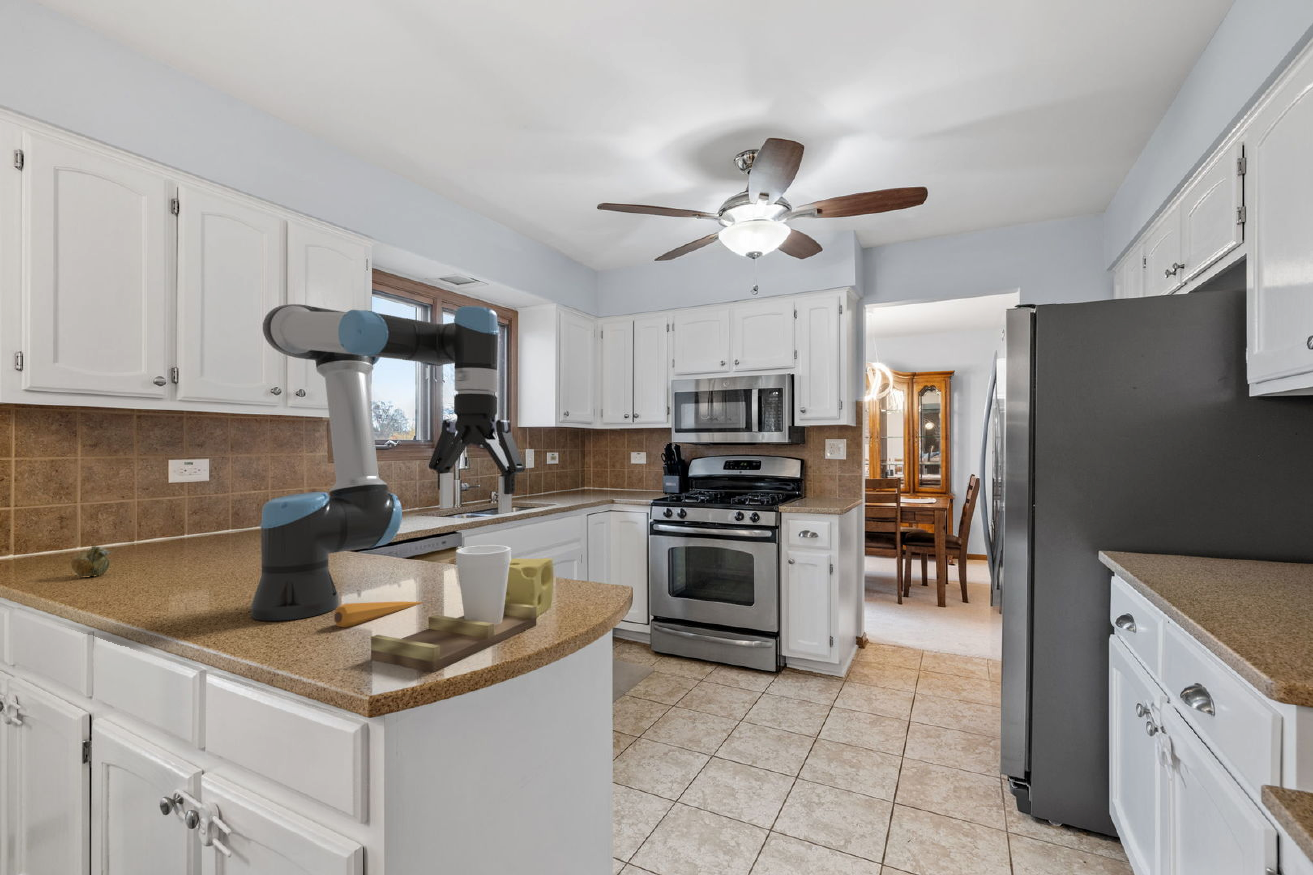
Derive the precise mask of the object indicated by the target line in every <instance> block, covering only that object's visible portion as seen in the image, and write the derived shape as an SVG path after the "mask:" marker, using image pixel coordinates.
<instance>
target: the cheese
mask: <svg viewBox="0 0 1313 875" xmlns="http://www.w3.org/2000/svg"><path fill="white" fill-rule="evenodd" d="M554 578H555V576H554V563H553V558H550V557H549V558H513V557H511V562H510V565H509V573H508V581H507V589H506V597H505V602H509V603H516V604H524V605H532V606H536V619H538V617H539V616H540V615H542V614H543V613H544V612H545V611H547V610H549V609H551V607H552V601H553V593H554V582H555V581H554V580H555V579H554Z"/></svg>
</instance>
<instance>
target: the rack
mask: <svg viewBox="0 0 1313 875" xmlns="http://www.w3.org/2000/svg"><path fill="white" fill-rule="evenodd" d="M535 625H536V626H537V618H536V606H532V605H524V604H516V603H509V602H505V605H504V613H503V618H502V622H501V623H500V624H498V625H495V626H494V623H487V622H480V621H474V620H467V619H465V617H464V615H461V616H459V617H453V616H452V617H451V616H445V615H441V614H439V615H438V614H432V615H430V616H428V628H426V629H424V630H421V631H418V632H415V633H413V634H409V635H407V636H405V637H403V638H398V637H393V636H388V635H381V634H375V635H372V636H370V660H371V661H378V662H381V663H382V662H383V663H386V664H387V663H388V664H391V665H396V666H401V667H407V668H413V669H415V670H416V669H417V670H421V671H427V672H430V673H431V672H432V673H436V672H437V671H438V672H439V671H440V670H442V669H443V668H446V667H448V666H451V665H452V664H455V663H457V662H459V661H461V660H464V659H466V658H468V657H470V656H472V655H474V654H477V653H478V652H481V651H483V650H486V649H487V648H489V647H491V646H494V645H496V644H499V643H500V642H504V641H505V640H507V639H510V638H511V637H514V636H515V635H518V634H520V633H522V632H524V630H525V631H527V630H529V629H531V628H534V627H536V626H535ZM533 626H534V627H533ZM526 629H527V630H526Z"/></svg>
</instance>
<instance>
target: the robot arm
mask: <svg viewBox="0 0 1313 875" xmlns="http://www.w3.org/2000/svg"><path fill="white" fill-rule="evenodd" d="M262 333H263V337H264V338H265V340H266V341H267V343H268V345H270V346H271V347H272V348H273V349H274V350H276V351H278V352H279V353H281V354H283V355H286V356H288V357H292V358H295V359H296V358H297V359H303V360H308V361H309V360H311V361H315V366H316V368H315V370H316V372H317V373H318V374H319V375H320V376H322V377H323V378H324V380H325V381H324V382H325V388H326V389H325V390H326V399H327V400H326V401H327V408H328V420H329V427H330V435H331V436H330V437H331V445H332V454H333V455H332V456H333V464H334V465H333V466H334V474H335V475H334V476H335V484H334V485H333V486H332V487H331V488H330V489H329V493H328V492H326V491H309V492H301V493H294V494H289V495H284V496H280V497H276V498H272V499H271V500H269V501H267V502H265V503H264V505H263V506H262V508H261V509H262V510H261V522H260V532H261V533H260V534H261V535H260V537H261V540H260V541H261V576H260V579H259V581H258V585H257V587H256V590H255V593H254V596H253V599H252V601H251V604H250V617H251V619H254V620H256V621H257V620H258V621H263V622H264V621H265V622H267V621H268V622H276V621H278V622H279V621H290V620H299V619H303V618H310V617H314V616H319V615H323V614H325V613H329V612H331V611H334V610H336V609H337V608H338V607H339V593H338V591H337V589H336V586H335V582H334V581H333V577H332V575H331V572H330V570H329V569H330V568H329V554H335V553H342V552H348V551H349V552H350V551H356V550H362V549H363V550H364V549H373V548H376V547H379V546H385V545H388V544H389V543H391V542H392V541H393V540H394V539H395V537H396V536H397V535H398V532H399V530H400V528H401V524H402V518H403V510H402V509H403V508H402V503H401V501H400V500H399V497H398V496H397V495H396V494H394V493H391V492H389V490H388V483H387V482H385V481H384V480H382V479H381V478H380V476H379V475H380V474H379V467H378V458H377V451H376V450H377V449H376V440H375V433H374V432H375V431H374V424H373V422H374V421H373V415H372V406H371V398H370V388H369V381H368V375H369V374H370V373H371V372H373V370H374V365H375V364H376V363H378V362H379V360H380V359H381V358H385V359H394V360H403V361H410V362H418V363H420V364H422V365H426V366H435V367H440V366H443V365H450V364H454V391H455V392H457V393H456V394H454V396H453V398H454V399H453V405H454V406H453V413H454V414H455V415H456V420H455V419H454V420H452V419H444V420H442V424H441V431H440V435H439V437H438V440H437V442H436V445H435V447H434V450H433V452H432V456H431V458H430V461H429V464H428V469H429V470H433V471H435V472H436V474H437V489H438V491H439V509H440V510H447V509H452V508H454V488H455V487H454V485H455V484H454V481H455V480H454V476H455V475H454V474H455V473H454V472H453V470H452V469H453V467H454V465H455V464H456V463H457V461H459V460H458V459H459V458H460V457H461V455H462V453H463V452H464V451H465V449H466V448H467V447H468V446H470V445H471V446H472V445H475V446H482V447H483V448H485V449H486V451H487V452H488V455H489V456H490V457H491V459H492V460H493V462H494V463H495V465H496V466H497V468H498V469H499V471H500V473H501V474H500V475H499V476H498V482H497V483H498V488H497V489H498V490H497V491H498V495H497V496H498V501H497V503H498V504H497V505H498V506H497V511H498V512H497V513H498V514H499V515H500V514H501V515H502V514H508V513H512V512H513V511H512V510H513V509H512V508H513V506H512V501H513V500H512V497H513V495H514V494H515V487H516V482H515V481H516V476H517V475H518V474H520V473H524V472H525V469H526V468H525V467H526V466H525V464H524V462H523V459H522V458H521V455H520V452H519V449H518V447H517V444H516V441H515V440H514V437H513V434H512V431H511V430H512V429H511V427H512V426H511V421H510V420H508V419H497V420H496V415H497V413H498V397H497V395H496V394H495V393H497V392H498V390H499V388H498V387H499V386H498V384H499V383H498V363H499V362H498V358H499V357H498V355H499V353H498V352H499V350H498V349H499V335H500V334H499V333H500V331H499V325H498V314H497V312H496V311H495V310H494V309H492V308H488V307H484V306H476V305H469V306H467V305H466V306H460V307H458V308H457V309H456V310H455V312H454V318H453V322H451V323H436V322H430V321H424V320H420V319H419V320H418V319H412V318H405V317H401V316H396V315H389V314H384V313H379V312H375V311H372V310H367V309H365V310H363V309H362V310H359V309H350V310H348V311H341V310H334V309H328V308H323V307H316V306H312V305H311V306H310V305H307V304H298V303H297V304H295V303H293V304H292V303H290V304H282V305H279V306H277V307H274V308H272V309H271V310H270V311H269V312H267V314H266V315H265V316H264V318H263V322H262ZM456 432H457V433H456ZM495 433H496V434H497V436H496V434H495Z"/></svg>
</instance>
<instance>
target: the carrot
mask: <svg viewBox="0 0 1313 875" xmlns="http://www.w3.org/2000/svg"><path fill="white" fill-rule="evenodd" d="M416 604H417V605H420V604H423V601H384V602H383V601H379V602H377V601H375V602H353V603H352V602H351V603H349V602H348V603H344V604H342V605H338V607H337V608H335V611H334V616H333V620H334V623H335V624H336V626H337V627H339V628H351V627H354V626H358V625H360V624H363V623H366V622H369V621H372V620H377V619H378V618H381V616H382V617H385V616H387V615H391V614H394V613H397V612H400V611H403V610H406V609H409V608H412V607H414V605H415V606H417V605H416ZM411 606H412V607H411ZM405 608H406V609H405ZM402 609H403V610H402ZM393 612H394V613H393ZM390 613H391V614H390Z"/></svg>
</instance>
